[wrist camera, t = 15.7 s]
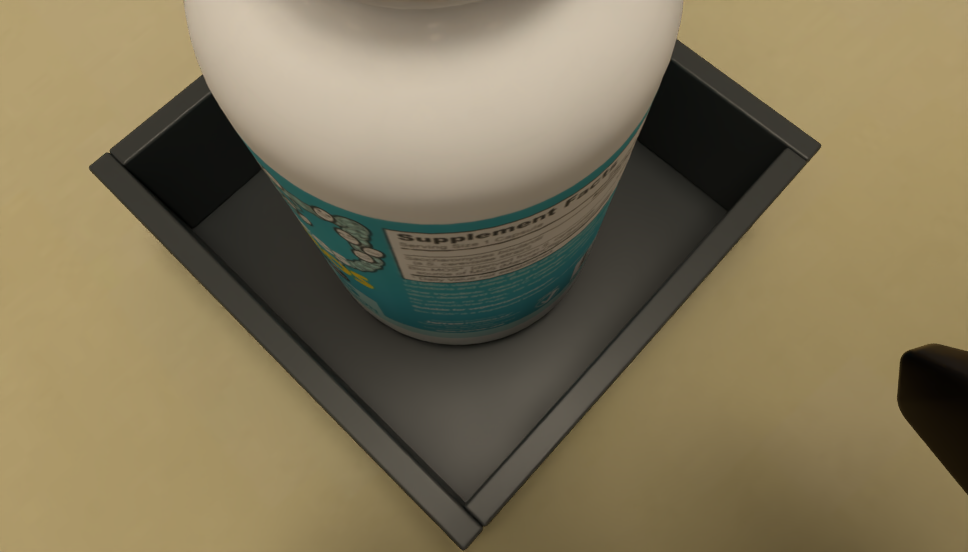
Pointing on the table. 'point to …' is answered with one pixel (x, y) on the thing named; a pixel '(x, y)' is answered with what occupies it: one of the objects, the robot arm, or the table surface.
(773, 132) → the dark gray square tray
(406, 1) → the pill bottle
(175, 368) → the table surface
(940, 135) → the table surface
